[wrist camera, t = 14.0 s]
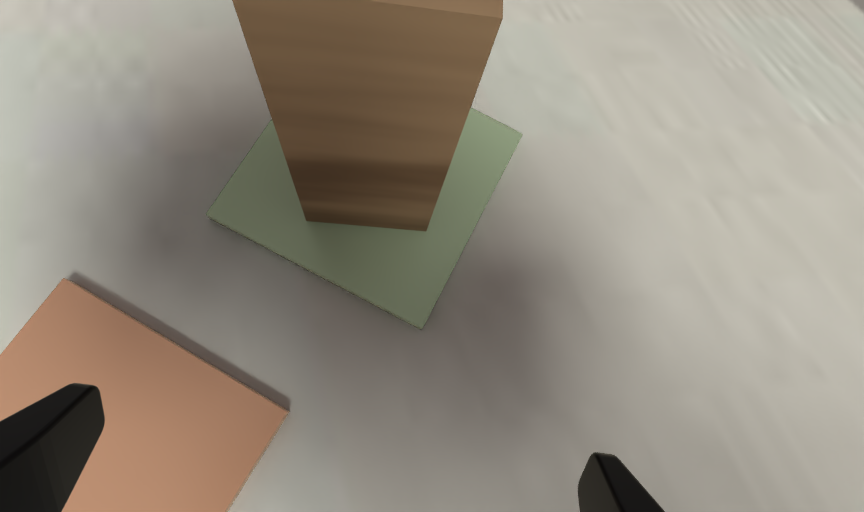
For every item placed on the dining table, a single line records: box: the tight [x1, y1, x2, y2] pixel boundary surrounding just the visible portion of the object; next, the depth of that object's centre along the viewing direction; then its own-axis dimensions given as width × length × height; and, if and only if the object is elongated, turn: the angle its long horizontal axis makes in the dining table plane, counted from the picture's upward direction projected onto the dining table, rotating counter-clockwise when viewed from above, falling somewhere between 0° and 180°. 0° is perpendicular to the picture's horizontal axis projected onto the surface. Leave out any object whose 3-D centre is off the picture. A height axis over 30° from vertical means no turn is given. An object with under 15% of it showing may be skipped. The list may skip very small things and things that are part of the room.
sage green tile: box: [206, 108, 523, 330], centre depth 23 cm, size 10×10×1 cm
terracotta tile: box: [0, 278, 290, 512], centre depth 19 cm, size 10×10×1 cm
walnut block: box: [232, 0, 503, 231], centre depth 16 cm, size 5×5×13 cm
